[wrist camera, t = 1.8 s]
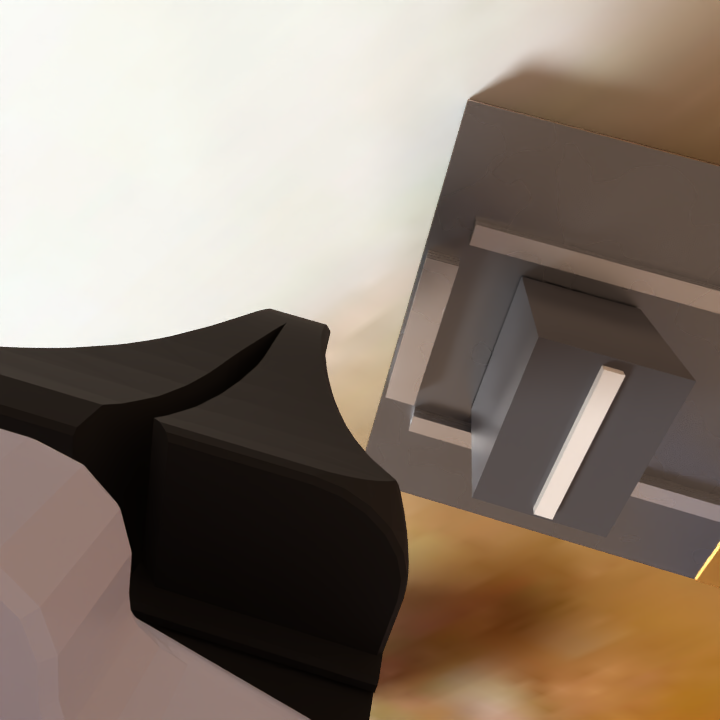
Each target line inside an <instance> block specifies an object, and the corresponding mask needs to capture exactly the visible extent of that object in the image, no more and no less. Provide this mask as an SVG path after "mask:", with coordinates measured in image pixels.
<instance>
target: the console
mask: <svg viewBox="0 0 720 720" xmlns="http://www.w3.org/2000/svg"><path fill="white" fill-rule="evenodd" d="M521 277H526V278H530V279H533V280H537V281H540V282H544V283H548V284H551V285H555V286H558V287H562V288H566V289H569V290H573V291H576V292H580V293H584V294H587V295H591V296H595V297H598V298H602V299H605V300H609V301H613V302H616V303H620V304H623V305H627V306H631V307H634V308H638V309H641V310H642V312H643V313H644V314H645V316H646V317H647V318H648V320H649V321H650V322H651V323H652V325H653V326H654V327H655V329H656V330H657V331H658V332H659V334H660V335H661V336H662V338H663V339H664V340H665V341H666V343H667V344H668V345H669V347H670V348H671V349H672V351H673V352H674V353H675V354H676V356H677V357H678V358H679V360H680V361H681V362H682V363H683V365H684V366H685V367H686V369H687V370H688V371H689V372H690V374H691V375H692V376H693V378H694V379H695V380H696V383H695V384H694V386H693V388H692V390H691V391H690V393H689V395H688V397H687V398H686V400H685V402H684V404H683V405H682V407H681V409H680V410H679V412H678V414H677V416H676V417H675V419H674V421H673V423H672V424H671V426H670V428H669V430H668V431H667V433H666V435H665V437H664V438H663V440H662V442H661V443H660V445H659V447H658V449H657V450H656V452H655V454H654V456H653V457H652V459H651V461H650V463H649V464H648V466H647V468H646V470H645V471H644V473H643V475H642V476H641V478H640V480H639V482H638V483H637V485H636V487H635V489H634V490H633V492H632V494H631V496H630V497H629V499H628V501H627V503H626V504H625V506H624V508H623V509H622V511H621V513H620V515H619V516H618V518H617V520H616V522H615V523H614V525H613V527H612V529H611V530H610V532H609V534H608V536H607V537H606V538H605V537H602V536H599V535H595V534H592V533H589V532H585V531H582V530H579V529H575V528H572V527H568V526H565V525H562V524H558V523H555V522H552V521H548V520H545V519H542V518H538V517H535V516H532V515H528V514H525V513H521V512H518V511H515V510H511V509H508V508H505V507H501V506H498V505H495V504H491V503H488V502H485V501H481V500H478V499H475V498H472V438H471V409H472V406H473V403H474V401H475V398H476V396H477V393H478V390H479V388H480V385H481V382H482V380H483V377H484V374H485V372H486V369H487V367H488V364H489V361H490V359H491V356H492V353H493V351H494V348H495V345H496V343H497V340H498V338H499V335H500V332H501V330H502V327H503V324H504V322H505V319H506V316H507V314H508V311H509V308H510V306H511V303H512V301H513V298H514V295H515V293H516V290H517V287H518V285H519V282H520V279H521ZM365 452H366V453H367V454H368V455H369V456H370V457H371V458H372V459H373V460H374V461H375V462H376V463H377V464H378V465H380V466H381V467H382V468H383V469H384V470H385V471H386V472H387V473H389V474H390V475H391V476H392V477H393V478H394V479H395V480H396V481H397V483H398V485H399V488H400V491H402V492H405V493H409V494H412V495H415V496H419V497H422V498H425V499H429V500H432V501H435V502H439V503H442V504H446V505H449V506H452V507H456V508H459V509H462V510H466V511H469V512H472V513H476V514H479V515H482V516H486V517H489V518H492V519H496V520H499V521H502V522H506V523H509V524H512V525H516V526H519V527H522V528H526V529H529V530H532V531H536V532H539V533H542V534H546V535H549V536H552V537H556V538H559V539H562V540H566V541H569V542H572V543H576V544H579V545H582V546H586V547H589V548H592V549H596V550H599V551H603V552H606V553H609V554H613V555H616V556H619V557H623V558H626V559H629V560H633V561H636V562H639V563H643V564H646V565H649V566H653V567H656V568H659V569H663V570H666V571H669V572H673V573H676V574H679V575H683V576H686V577H689V578H693V579H696V581H698V582H702V583H705V584H708V585H712V586H715V587H718V588H720V165H717V164H713V163H709V162H706V161H702V160H698V159H694V158H690V157H687V156H683V155H679V154H675V153H671V152H668V151H664V150H660V149H656V148H652V147H649V146H645V145H641V144H637V143H633V142H630V141H626V140H622V139H618V138H614V137H611V136H607V135H603V134H599V133H595V132H592V131H588V130H584V129H580V128H576V127H573V126H569V125H565V124H561V123H557V122H554V121H550V120H546V119H542V118H538V117H535V116H531V115H527V114H523V113H519V112H516V111H512V110H508V109H504V108H500V107H497V106H493V105H489V104H485V103H481V102H478V101H474V100H470V99H468V100H467V104H466V107H465V111H464V114H463V118H462V121H461V125H460V128H459V131H458V135H457V138H456V142H455V145H454V149H453V152H452V155H451V159H450V162H449V166H448V169H447V173H446V176H445V180H444V183H443V186H442V190H441V193H440V197H439V200H438V204H437V207H436V210H435V214H434V217H433V221H432V224H431V228H430V231H429V235H428V238H427V241H426V245H425V248H424V252H423V255H422V259H421V262H420V265H419V269H418V272H417V276H416V279H415V283H414V286H413V290H412V293H411V296H410V300H409V303H408V307H407V310H406V314H405V317H404V320H403V324H402V327H401V331H400V334H399V338H398V341H397V345H396V348H395V351H394V355H393V358H392V362H391V365H390V369H389V372H388V375H387V379H386V382H385V386H384V389H383V393H382V396H381V400H380V403H379V406H378V410H377V413H376V417H375V420H374V424H373V427H372V430H371V434H370V437H369V441H368V444H367V448H366V451H365Z"/></svg>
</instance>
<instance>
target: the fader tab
mask: <svg viewBox="0 0 720 720" xmlns="http://www.w3.org/2000/svg"><path fill="white" fill-rule="evenodd" d="M695 383H696V380H695V379H694V378H693V376H692V375H691V374H690V372H689V371H688V370H687V369H686V367H685V366H684V365H683V363H682V362H681V361H680V360H679V358H678V357H677V356H676V354H675V353H674V352H673V351H672V349H671V348H670V347H669V345H668V344H667V343H666V341H665V340H664V339H663V338H662V336H661V335H660V334H659V332H658V331H657V330H656V329H655V327H654V326H653V325H652V323H651V322H650V321H649V320H648V318H647V317H646V316H645V314H644V313H643V312H642V310H641V309H638V308H634V307H631V306H627V305H623V304H620V303H616V302H613V301H609V300H605V299H602V298H598V297H595V296H591V295H587V294H584V293H580V292H576V291H573V290H569V289H566V288H562V287H558V286H555V285H551V284H548V283H544V282H540V281H537V280H533V279H530V278H526V277H521V279H520V282H519V285H518V287H517V290H516V293H515V295H514V298H513V301H512V303H511V306H510V308H509V311H508V314H507V316H506V319H505V322H504V324H503V327H502V330H501V332H500V335H499V338H498V340H497V343H496V345H495V348H494V351H493V353H492V356H491V359H490V361H489V364H488V367H487V369H486V372H485V374H484V377H483V380H482V382H481V385H480V388H479V390H478V393H477V396H476V398H475V401H474V403H473V406H472V409H471V438H472V498H475V499H478V500H481V501H485V502H488V503H491V504H495V505H498V506H501V507H505V508H508V509H511V510H515V511H518V512H521V513H525V514H528V515H532V516H535V517H538V518H542V519H545V520H548V521H552V522H555V523H558V524H562V525H565V526H568V527H572V528H575V529H579V530H582V531H585V532H589V533H592V534H595V535H599V536H602V537H605V538H606V537H607V536H608V534H609V532H610V530H611V529H612V527H613V525H614V523H615V522H616V520H617V518H618V516H619V515H620V513H621V511H622V509H623V508H624V506H625V504H626V503H627V501H628V499H629V497H630V496H631V494H632V492H633V490H634V489H635V487H636V485H637V483H638V482H639V480H640V478H641V476H642V475H643V473H644V471H645V470H646V468H647V466H648V464H649V463H650V461H651V459H652V457H653V456H654V454H655V452H656V450H657V449H658V447H659V445H660V443H661V442H662V440H663V438H664V437H665V435H666V433H667V431H668V430H669V428H670V426H671V424H672V423H673V421H674V419H675V417H676V416H677V414H678V412H679V410H680V409H681V407H682V405H683V404H684V402H685V400H686V398H687V397H688V395H689V393H690V391H691V390H692V388H693V386H694V384H695Z"/></svg>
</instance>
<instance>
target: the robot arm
mask: <svg viewBox="0 0 720 720" xmlns="http://www.w3.org/2000/svg"><path fill="white" fill-rule="evenodd" d="M329 336H330V330H329V328H328V326H327V325H325V324H322V323H318V322H315V321H311V320H308V319H304V318H301V317H297V316H294V315H290V314H287V313H283V312H280V311H276V310H273V309H265V310H260V311H257V312H253V313H250V314H247V315H244V316H241V317H238V318H235V319H231V320H228V321H225V322H222V323H219V324H216V325H212V326H209V327H205V328H201V329H197V330H193V331H190V332H186V333H182V334H178V335H174V336H170V337H165V338H160V339H154V340H149V341H142V342H135V343H128V344H119V345H106V346H91V347H76V348H17V347H0V720H369V717H370V711H371V704H372V698H373V693H374V692H375V690H376V687H377V684H378V680H379V675H380V668H381V661H382V654H383V651H384V648H385V645H386V643H387V640H388V638H389V635H390V632H391V630H392V627H393V625H394V622H395V619H396V617H397V614H398V612H399V609H400V606H401V604H402V601H403V599H404V595H405V591H406V586H407V581H408V565H409V559H408V539H407V529H406V521H405V514H404V508H403V503H402V497H401V492H400V488H399V485H398V483H397V481H396V480H395V479H394V478H393V477H392V476H391V475H390V474H389V473H387V472H386V471H385V470H384V469H383V468H382V467H381V466H380V465H378V464H377V463H376V462H375V461H374V460H373V459H372V458H371V457H370V456H369V455H368V454H367V453H366V452H365V451H364V449H363V448H362V447H361V446H360V445H359V444H358V442H357V441H356V440H355V439H354V437H353V435H352V434H351V432H350V431H349V429H348V428H347V426H346V424H345V422H344V420H343V418H342V416H341V414H340V412H339V410H338V407H337V405H336V402H335V400H334V397H333V394H332V390H331V387H330V383H329V378H328V373H327V367H326V358H325V353H326V349H327V344H328V340H329Z"/></svg>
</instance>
